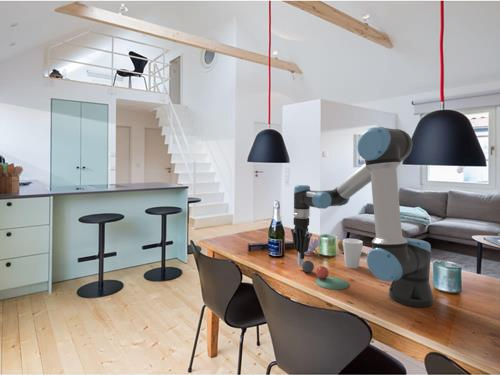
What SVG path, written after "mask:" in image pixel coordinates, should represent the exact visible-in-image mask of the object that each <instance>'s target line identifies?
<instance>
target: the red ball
mask: <svg viewBox="0 0 500 375" xmlns="http://www.w3.org/2000/svg"><path fill="white" fill-rule="evenodd" d="M329 274H330V272H329V270H328V268H327V267H325V266H323V265H321V266H319V267H318V268H316V270H315V275H316V276H317V278H320V279H326V278H327V277H329Z"/></svg>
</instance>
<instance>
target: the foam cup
mask: <svg viewBox="0 0 500 375" xmlns="http://www.w3.org/2000/svg"><path fill="white" fill-rule="evenodd" d="M342 240H343V248H344V252H343V257H344V266H345V267H346V268H348V269H359V267H360V266H359V265H360V261H361V256H362V250H363V247H364V245H363V244H364V242H363V240H360V239H357V238H344V239H342Z"/></svg>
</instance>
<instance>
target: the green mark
mask: <svg viewBox="0 0 500 375" xmlns="http://www.w3.org/2000/svg"><path fill="white" fill-rule="evenodd" d="M315 284H316V285H317V286H318V287H320V288H323V289H328V290H333V291H340V290H341V291H342V290H346V289H348V288H349V287H350V283H349V282H348V281H346V280H345V279H343V278H339V277H335V276H328V277H327V278H326V279H320V278H319V277H317V278H316V279H315Z"/></svg>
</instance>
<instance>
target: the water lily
mask: <svg viewBox="0 0 500 375" xmlns="http://www.w3.org/2000/svg"><path fill="white" fill-rule="evenodd" d="M320 241H321V236H319V237H318V238H315V239H314V240H313V239H310V244H309V247H308V252H305V253H304V256H306V255H308V254H310V253H311V252H315V253H316V254H317V256H318V257H320V254H319V253H318V251H317V250H316V249H317V248H318V247H319V246H320V244H321V243H320Z"/></svg>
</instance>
